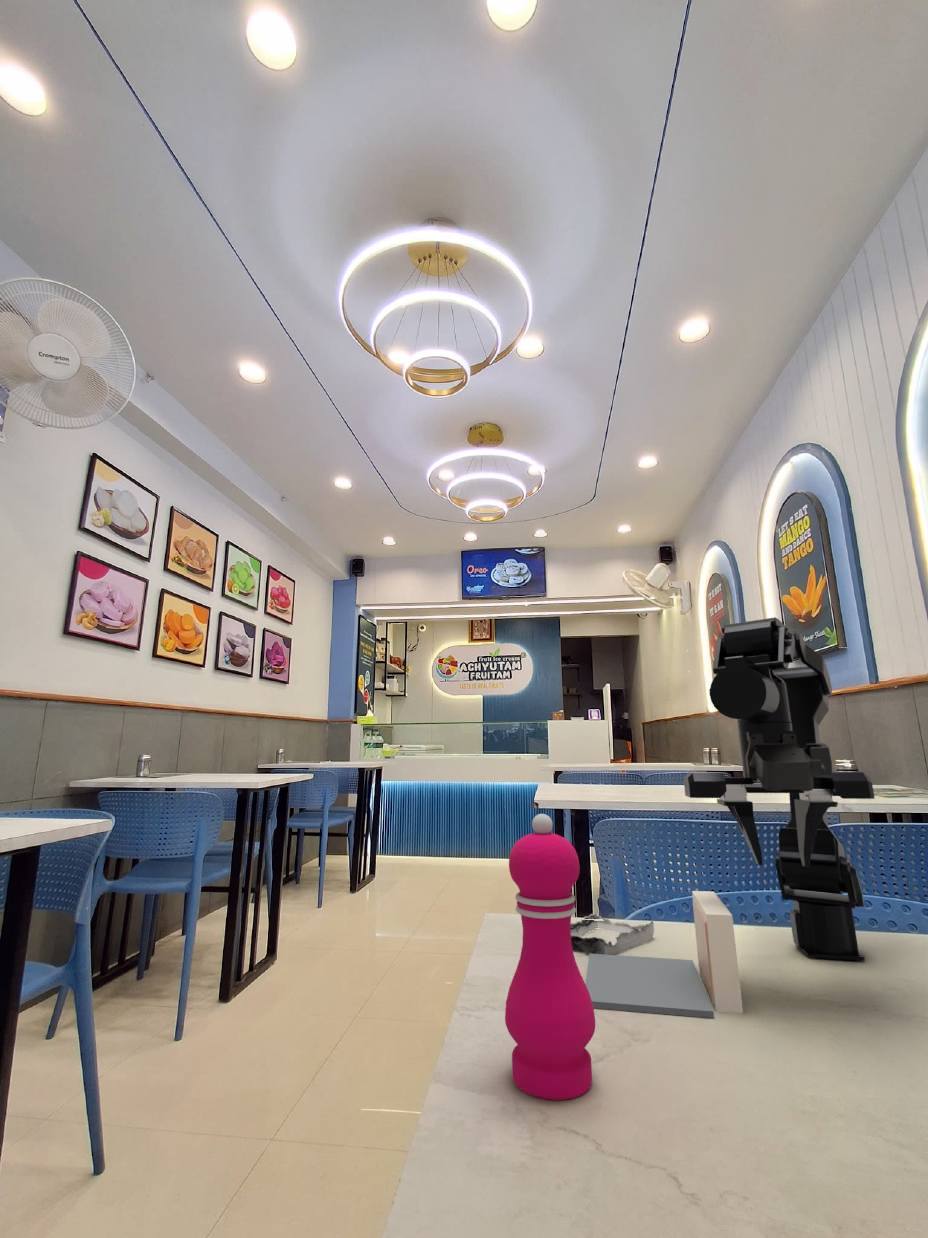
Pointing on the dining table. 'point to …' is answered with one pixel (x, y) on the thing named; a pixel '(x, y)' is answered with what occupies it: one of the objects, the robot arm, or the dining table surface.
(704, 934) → the ceramic tile
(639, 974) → the slate mat
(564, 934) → the pepper mill
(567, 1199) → the dining table surface
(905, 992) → the dining table surface
